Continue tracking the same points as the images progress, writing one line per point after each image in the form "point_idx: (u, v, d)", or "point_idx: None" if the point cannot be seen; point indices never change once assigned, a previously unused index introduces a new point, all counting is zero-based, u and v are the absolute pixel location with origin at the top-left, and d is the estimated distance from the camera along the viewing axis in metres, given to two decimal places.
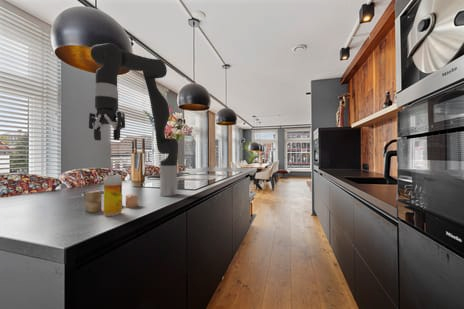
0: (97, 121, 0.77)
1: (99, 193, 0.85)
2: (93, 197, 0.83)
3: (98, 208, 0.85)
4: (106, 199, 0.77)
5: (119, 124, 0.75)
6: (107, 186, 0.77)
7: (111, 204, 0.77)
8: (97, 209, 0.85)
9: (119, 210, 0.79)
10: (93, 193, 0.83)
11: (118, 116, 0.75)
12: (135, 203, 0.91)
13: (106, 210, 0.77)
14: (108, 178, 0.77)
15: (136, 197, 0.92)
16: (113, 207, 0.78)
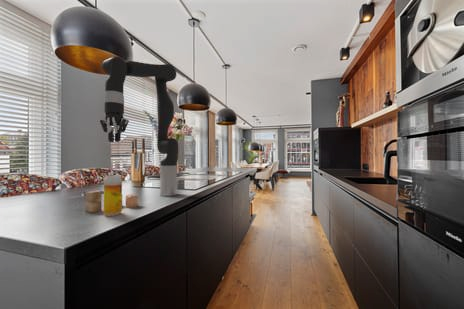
0: (108, 124, 0.90)
1: (99, 193, 0.85)
2: (93, 197, 0.83)
3: (98, 208, 0.85)
4: (106, 199, 0.77)
5: (119, 129, 0.89)
6: (107, 186, 0.77)
7: (111, 204, 0.77)
8: (97, 209, 0.85)
9: (119, 210, 0.79)
10: (93, 193, 0.83)
11: (122, 122, 0.89)
12: (135, 203, 0.91)
13: (106, 210, 0.77)
14: (108, 178, 0.77)
15: (136, 197, 0.92)
16: (113, 207, 0.78)
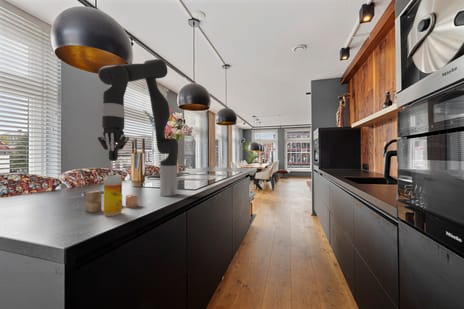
0: (107, 140, 0.79)
1: (99, 193, 0.85)
2: (93, 197, 0.83)
3: (98, 208, 0.85)
4: (106, 199, 0.77)
5: (117, 146, 0.78)
6: (107, 186, 0.77)
7: (111, 204, 0.77)
8: (97, 209, 0.85)
9: (119, 210, 0.79)
10: (93, 193, 0.83)
11: (121, 140, 0.78)
12: (135, 203, 0.91)
13: (106, 210, 0.77)
14: (108, 178, 0.77)
15: (136, 197, 0.92)
16: (113, 207, 0.78)
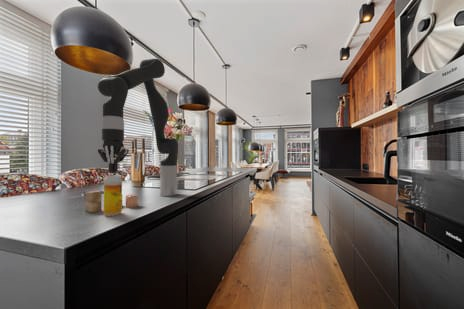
0: (107, 153, 0.79)
1: (99, 193, 0.85)
2: (93, 197, 0.83)
3: (98, 208, 0.85)
4: (106, 199, 0.77)
5: (116, 159, 0.78)
6: (107, 186, 0.77)
7: (111, 204, 0.77)
8: (97, 209, 0.85)
9: (119, 210, 0.79)
10: (93, 193, 0.83)
11: (121, 153, 0.78)
12: (135, 203, 0.91)
13: (106, 210, 0.77)
14: (108, 178, 0.77)
15: (136, 197, 0.92)
16: (113, 207, 0.78)
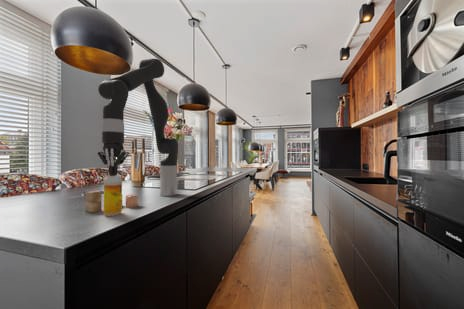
0: (107, 156, 0.79)
1: (99, 193, 0.85)
2: (93, 197, 0.83)
3: (98, 208, 0.85)
4: (106, 199, 0.77)
5: (116, 161, 0.78)
6: (107, 186, 0.77)
7: (111, 204, 0.77)
8: (97, 209, 0.85)
9: (119, 210, 0.79)
10: (93, 193, 0.83)
11: (121, 155, 0.78)
12: (135, 203, 0.91)
13: (106, 210, 0.77)
14: (108, 178, 0.77)
15: (136, 197, 0.92)
16: (113, 207, 0.78)
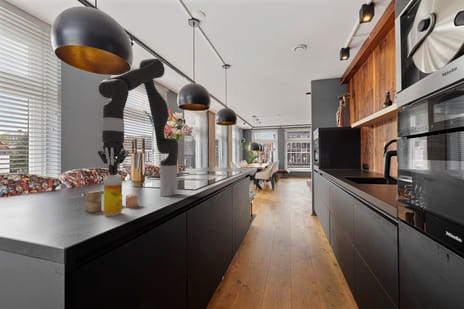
0: (107, 155, 0.79)
1: (99, 193, 0.85)
2: (93, 197, 0.83)
3: (98, 208, 0.85)
4: (106, 199, 0.77)
5: (116, 160, 0.78)
6: (107, 186, 0.77)
7: (111, 204, 0.77)
8: (97, 209, 0.85)
9: (119, 210, 0.79)
10: (93, 193, 0.83)
11: (121, 154, 0.78)
12: (135, 203, 0.91)
13: (106, 210, 0.77)
14: (108, 178, 0.77)
15: (136, 197, 0.92)
16: (113, 207, 0.78)
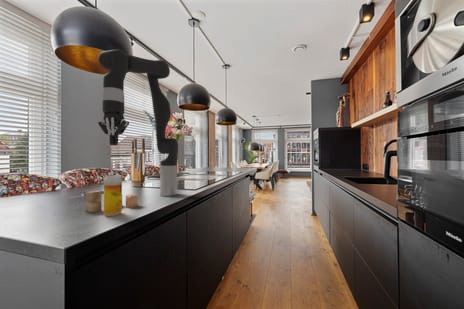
0: (108, 125, 0.80)
1: (99, 193, 0.85)
2: (93, 197, 0.83)
3: (98, 208, 0.85)
4: (106, 199, 0.77)
5: (117, 130, 0.79)
6: (107, 186, 0.77)
7: (111, 204, 0.77)
8: (97, 209, 0.85)
9: (119, 210, 0.79)
10: (93, 193, 0.83)
11: (121, 124, 0.79)
12: (135, 203, 0.91)
13: (106, 210, 0.77)
14: (108, 178, 0.77)
15: (136, 197, 0.92)
16: (113, 207, 0.78)
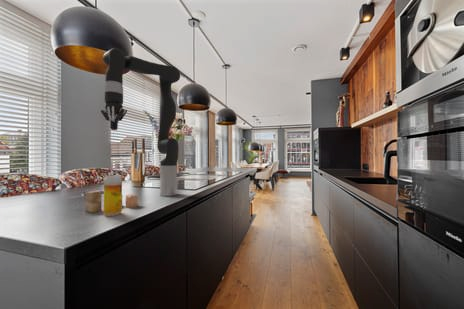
0: (109, 112, 0.94)
1: (99, 193, 0.85)
2: (93, 197, 0.83)
3: (98, 208, 0.85)
4: (106, 199, 0.77)
5: (117, 117, 0.94)
6: (107, 186, 0.77)
7: (111, 204, 0.77)
8: (97, 209, 0.85)
9: (119, 210, 0.79)
10: (93, 193, 0.83)
11: (120, 112, 0.94)
12: (135, 203, 0.91)
13: (106, 210, 0.77)
14: (108, 178, 0.77)
15: (136, 197, 0.92)
16: (113, 207, 0.78)
